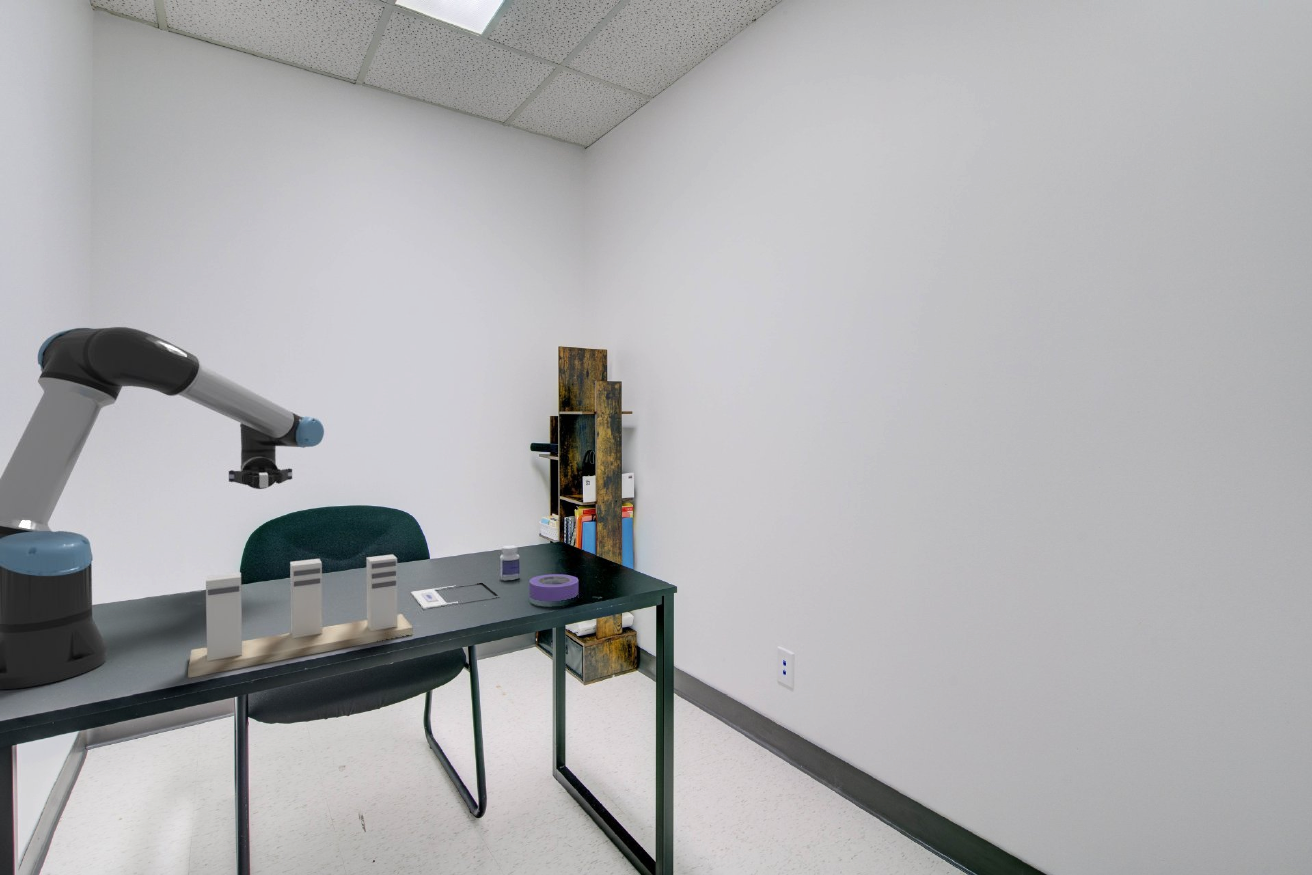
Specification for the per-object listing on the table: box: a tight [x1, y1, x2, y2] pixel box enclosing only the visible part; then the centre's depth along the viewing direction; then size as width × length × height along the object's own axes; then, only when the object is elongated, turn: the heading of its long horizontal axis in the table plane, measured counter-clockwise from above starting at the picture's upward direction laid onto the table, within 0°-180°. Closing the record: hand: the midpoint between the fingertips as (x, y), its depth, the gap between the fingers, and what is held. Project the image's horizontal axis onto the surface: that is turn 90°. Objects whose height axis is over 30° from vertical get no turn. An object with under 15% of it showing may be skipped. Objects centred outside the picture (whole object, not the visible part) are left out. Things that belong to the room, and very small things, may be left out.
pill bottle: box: [499, 544, 521, 577], centre depth 164 cm, size 5×5×9 cm
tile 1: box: [205, 572, 243, 661], centre depth 107 cm, size 5×4×14 cm
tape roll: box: [528, 573, 579, 602], centre depth 146 cm, size 12×12×5 cm
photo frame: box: [410, 585, 458, 610], centre depth 148 cm, size 15×1×18 cm
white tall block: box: [289, 558, 323, 638], centre depth 117 cm, size 5×4×14 cm
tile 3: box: [366, 554, 398, 631], centre depth 122 cm, size 5×4×14 cm
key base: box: [187, 613, 414, 679], centre depth 115 cm, size 36×10×2 cm, turn 125°
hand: (264, 481), depth 129 cm, fingers closed
